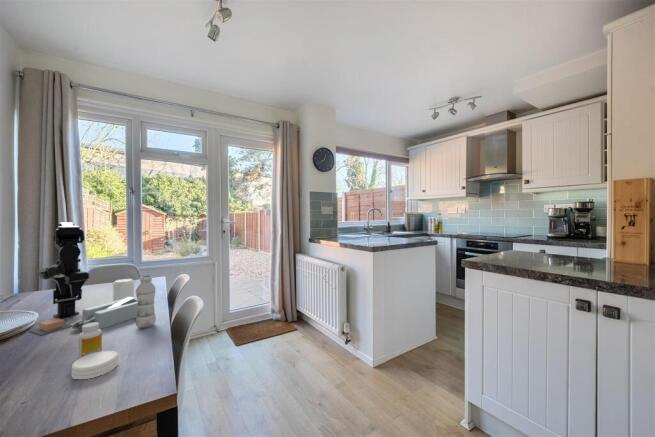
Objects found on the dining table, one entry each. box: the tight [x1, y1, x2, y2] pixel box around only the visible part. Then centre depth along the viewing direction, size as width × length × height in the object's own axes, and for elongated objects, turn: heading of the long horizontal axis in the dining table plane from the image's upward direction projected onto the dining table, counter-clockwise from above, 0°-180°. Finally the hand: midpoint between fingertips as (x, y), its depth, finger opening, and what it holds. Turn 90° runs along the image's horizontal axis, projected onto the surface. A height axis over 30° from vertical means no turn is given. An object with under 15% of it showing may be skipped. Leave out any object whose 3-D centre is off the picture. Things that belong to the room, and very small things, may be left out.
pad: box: [28, 322, 73, 337], centre depth 103 cm, size 9×9×1 cm
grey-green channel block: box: [81, 297, 138, 330], centre depth 113 cm, size 18×12×6 cm, turn 157°
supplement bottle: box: [78, 322, 103, 359], centre depth 84 cm, size 5×5×10 cm
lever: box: [71, 297, 135, 331], centre depth 110 cm, size 21×4×1 cm, turn 157°
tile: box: [39, 317, 65, 331], centre depth 103 cm, size 5×5×2 cm
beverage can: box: [112, 278, 135, 302], centre depth 132 cm, size 8×8×12 cm
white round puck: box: [70, 350, 119, 380], centre depth 76 cm, size 10×10×4 cm
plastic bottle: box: [135, 275, 157, 329], centre depth 105 cm, size 6×7×20 cm
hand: (68, 295), depth 107 cm, fingers open, 9 cm apart
